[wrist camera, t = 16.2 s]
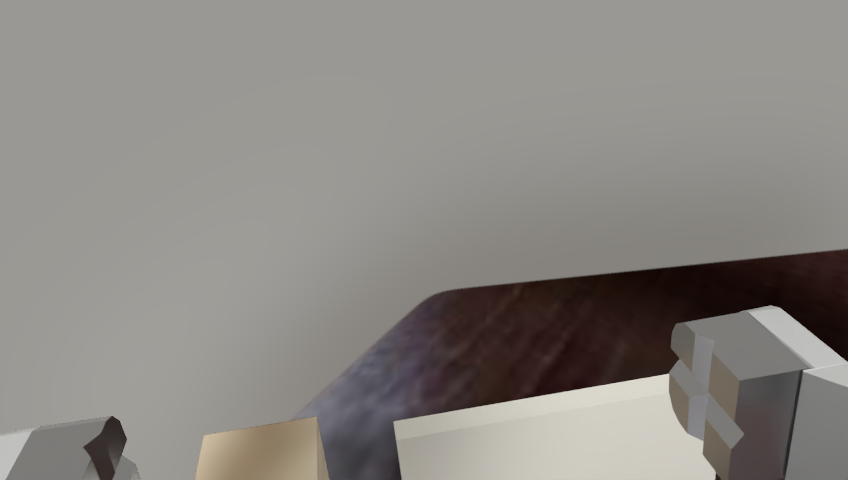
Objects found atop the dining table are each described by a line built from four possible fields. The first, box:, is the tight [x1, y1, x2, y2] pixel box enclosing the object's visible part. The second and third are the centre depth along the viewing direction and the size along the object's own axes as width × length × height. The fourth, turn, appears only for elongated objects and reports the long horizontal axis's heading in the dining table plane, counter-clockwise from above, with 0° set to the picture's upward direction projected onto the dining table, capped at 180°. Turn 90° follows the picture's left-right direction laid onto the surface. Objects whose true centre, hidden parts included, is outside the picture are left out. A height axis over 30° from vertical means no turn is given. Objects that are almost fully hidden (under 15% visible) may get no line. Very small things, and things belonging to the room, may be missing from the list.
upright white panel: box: [393, 374, 716, 480], centre depth 40 cm, size 18×2×10 cm, turn 99°
